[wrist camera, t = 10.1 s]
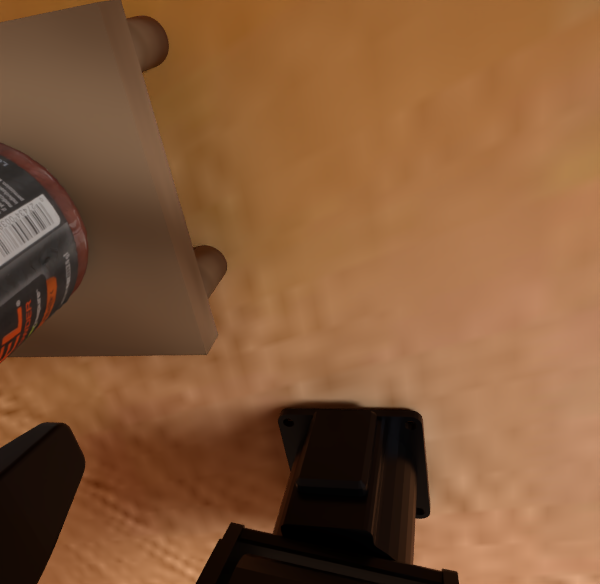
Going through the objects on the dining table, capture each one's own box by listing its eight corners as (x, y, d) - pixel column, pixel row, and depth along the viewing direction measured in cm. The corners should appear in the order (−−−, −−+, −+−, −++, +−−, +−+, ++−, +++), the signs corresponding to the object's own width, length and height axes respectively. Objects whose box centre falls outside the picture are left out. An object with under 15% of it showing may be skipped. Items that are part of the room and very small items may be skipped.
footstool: (245, 289, 23) (206, 354, 19) (24, 299, 26) (-47, 357, 22) (170, -9, 18) (97, 2, 14) (-97, 46, 21) (-215, 67, 17)
